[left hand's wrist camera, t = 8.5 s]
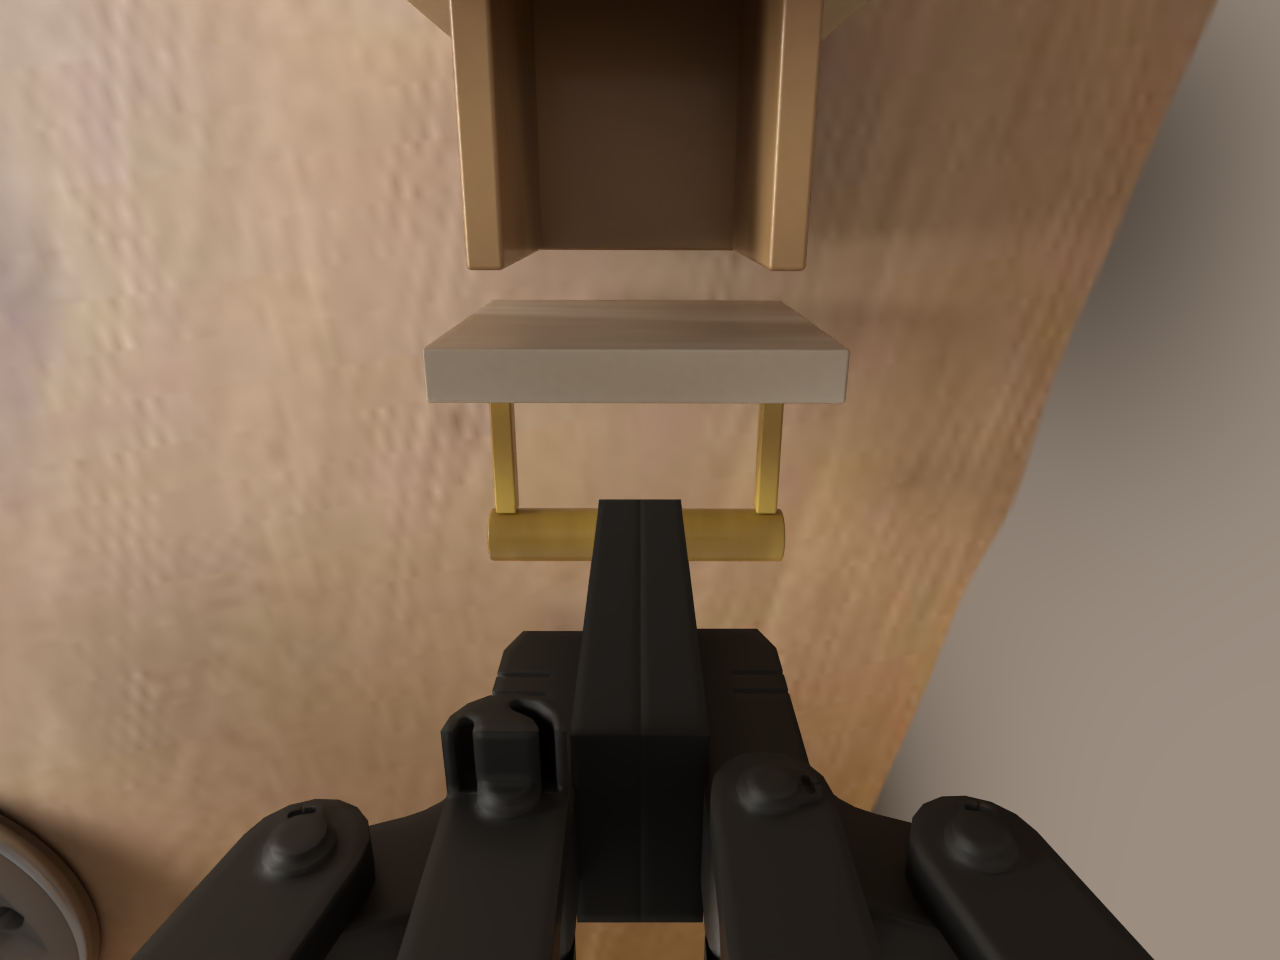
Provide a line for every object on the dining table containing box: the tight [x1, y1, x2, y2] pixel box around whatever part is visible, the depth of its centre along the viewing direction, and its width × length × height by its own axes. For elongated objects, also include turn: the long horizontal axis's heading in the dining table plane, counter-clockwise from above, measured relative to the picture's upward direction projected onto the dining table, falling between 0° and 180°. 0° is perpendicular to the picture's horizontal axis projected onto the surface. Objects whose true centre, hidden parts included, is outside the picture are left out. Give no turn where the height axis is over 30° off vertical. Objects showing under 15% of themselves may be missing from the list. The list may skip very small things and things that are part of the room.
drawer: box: [422, 0, 850, 561], centre depth 20 cm, size 22×9×9 cm, turn 0°
